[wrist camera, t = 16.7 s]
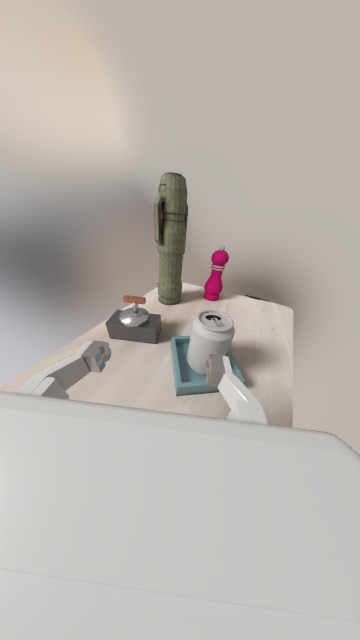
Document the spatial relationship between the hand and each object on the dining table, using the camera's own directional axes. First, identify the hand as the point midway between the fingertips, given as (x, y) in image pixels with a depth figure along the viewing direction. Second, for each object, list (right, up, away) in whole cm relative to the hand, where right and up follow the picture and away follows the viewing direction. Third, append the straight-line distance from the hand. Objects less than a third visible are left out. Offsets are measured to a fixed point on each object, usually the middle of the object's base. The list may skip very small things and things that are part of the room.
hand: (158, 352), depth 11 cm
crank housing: (-10, -1, +27) cm, 29 cm away
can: (+7, -7, +19) cm, 22 cm away
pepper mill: (+15, +12, +48) cm, 52 cm away
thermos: (-2, +11, +44) cm, 45 cm away
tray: (+7, -7, +20) cm, 22 cm away
